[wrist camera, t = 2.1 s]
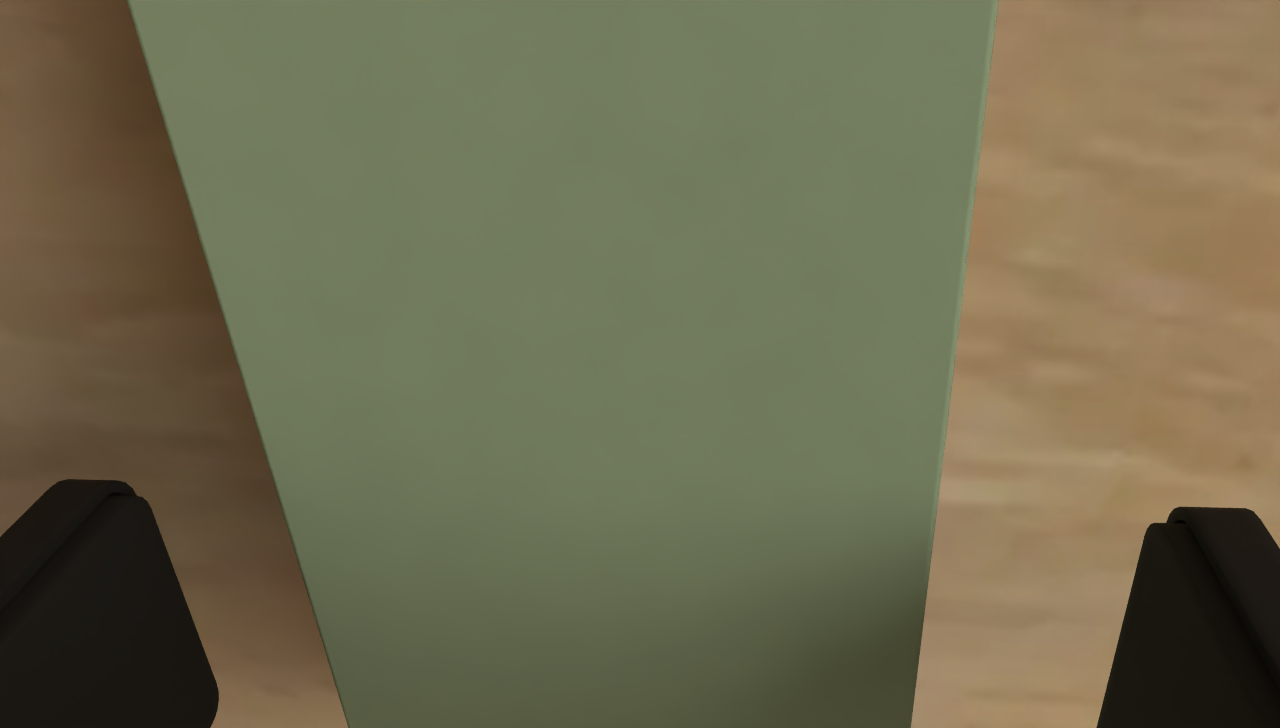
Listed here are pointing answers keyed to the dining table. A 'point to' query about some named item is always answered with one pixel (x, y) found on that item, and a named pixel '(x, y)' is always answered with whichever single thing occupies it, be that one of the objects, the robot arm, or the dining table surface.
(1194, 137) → the dining table surface
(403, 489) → the green block on base
